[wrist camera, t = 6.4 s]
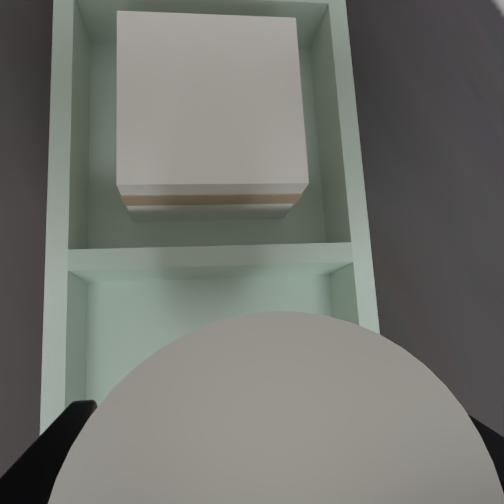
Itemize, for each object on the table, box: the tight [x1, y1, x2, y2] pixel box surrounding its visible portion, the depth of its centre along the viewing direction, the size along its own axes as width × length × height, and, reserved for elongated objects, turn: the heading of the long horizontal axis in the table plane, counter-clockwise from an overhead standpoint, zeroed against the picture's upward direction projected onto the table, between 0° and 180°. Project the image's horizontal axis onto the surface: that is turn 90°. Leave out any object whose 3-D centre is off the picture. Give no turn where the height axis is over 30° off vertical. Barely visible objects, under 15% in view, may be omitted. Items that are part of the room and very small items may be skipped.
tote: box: [40, 0, 380, 435], centre depth 20 cm, size 24×13×4 cm, turn 3°
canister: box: [48, 311, 504, 504], centre depth 10 cm, size 6×6×10 cm
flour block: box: [116, 11, 309, 221], centre depth 20 cm, size 7×7×5 cm
